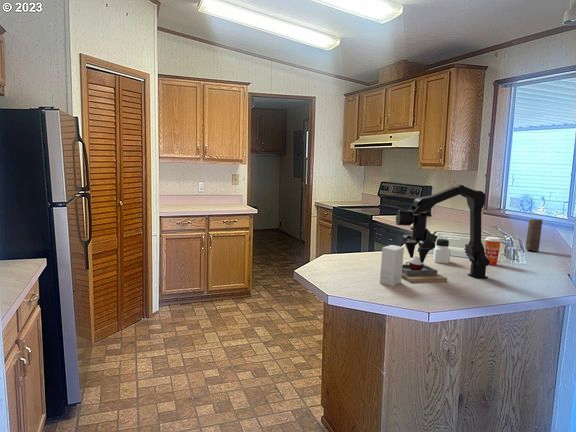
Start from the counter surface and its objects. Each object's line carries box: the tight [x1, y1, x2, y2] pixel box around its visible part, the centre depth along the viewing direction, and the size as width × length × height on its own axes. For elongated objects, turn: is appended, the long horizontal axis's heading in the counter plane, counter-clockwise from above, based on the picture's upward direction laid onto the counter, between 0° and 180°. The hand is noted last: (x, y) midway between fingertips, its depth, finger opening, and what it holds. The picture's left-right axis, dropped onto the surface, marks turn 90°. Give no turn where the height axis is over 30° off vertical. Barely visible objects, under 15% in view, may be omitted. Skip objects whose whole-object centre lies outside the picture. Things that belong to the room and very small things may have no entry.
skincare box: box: [379, 244, 405, 287], centre depth 182 cm, size 8×7×16 cm
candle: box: [524, 218, 543, 252], centre depth 268 cm, size 8×7×20 cm
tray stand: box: [401, 263, 448, 283], centre depth 198 cm, size 22×18×4 cm
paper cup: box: [484, 236, 502, 266], centre depth 227 cm, size 8×8×14 cm
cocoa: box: [405, 256, 425, 271], centre depth 197 cm, size 10×6×12 cm, turn 54°
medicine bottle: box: [432, 238, 451, 265], centre depth 228 cm, size 7×7×12 cm
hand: (416, 260), depth 198 cm, fingers open, 9 cm apart
